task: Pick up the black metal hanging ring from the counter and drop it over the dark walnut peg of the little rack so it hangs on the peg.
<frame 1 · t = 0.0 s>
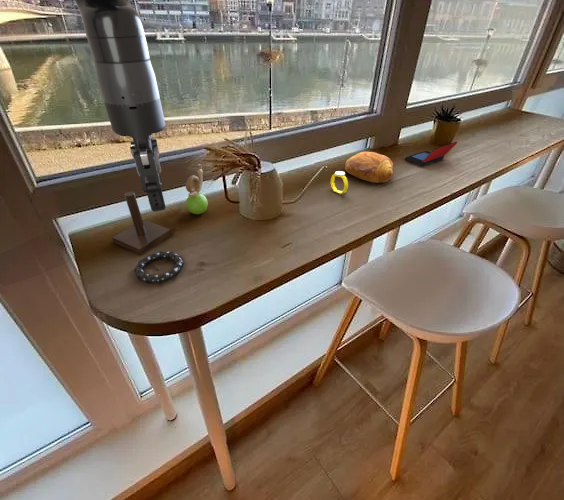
hand: (157, 198, 56), 16 cm above the table, tool pointing down, fingers open, 8 cm apart
hang ring: (159, 266, 66), point 1 cm above the table
gold gemstone ring: (338, 192, 94), on the table
handheld console: (427, 162, 114), on the table
bread loaf: (369, 175, 105), on the table
rack: (143, 238, 75), on the table
snail figurine: (200, 212, 85), on the table
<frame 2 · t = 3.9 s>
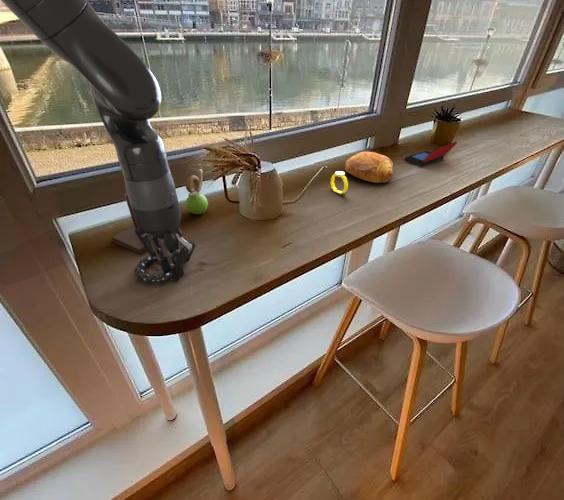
hand: (174, 275, 64), 0 cm above the table, tool pointing down, fingers closed on hang ring, 1 cm apart
hang ring: (159, 266, 66), point 1 cm above the table, touching gripper
everything else where it was.
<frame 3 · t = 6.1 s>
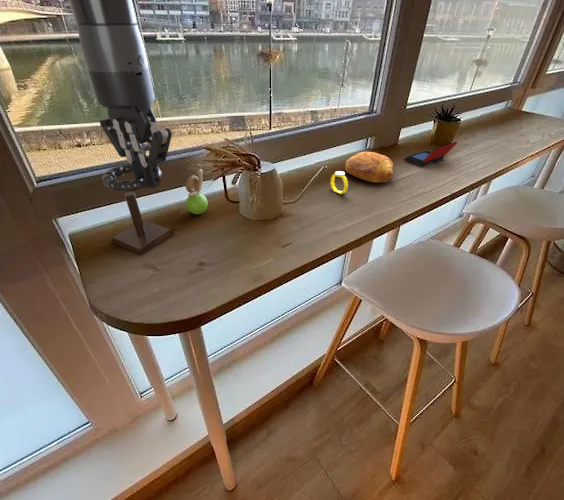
hand: (149, 184, 54), 19 cm above the table, tool pointing down, fingers closed on hang ring
hang ring: (132, 176, 55), point 20 cm above the table, touching gripper
everything else where it was.
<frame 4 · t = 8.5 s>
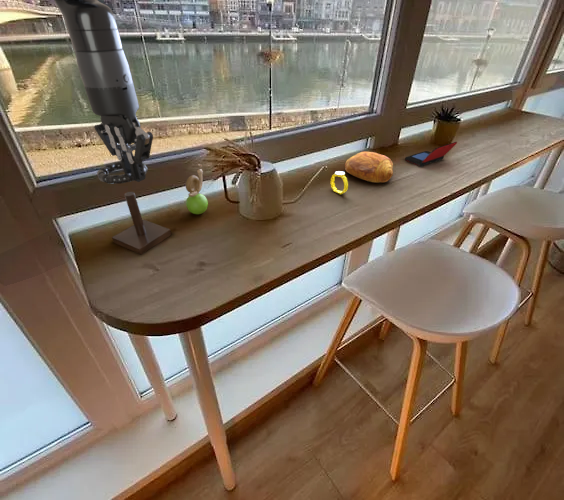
hand: (136, 178, 64), 16 cm above the table, tool pointing down, fingers closed on hang ring
hang ring: (122, 171, 65), point 16 cm above the table, touching gripper
everything else where it was.
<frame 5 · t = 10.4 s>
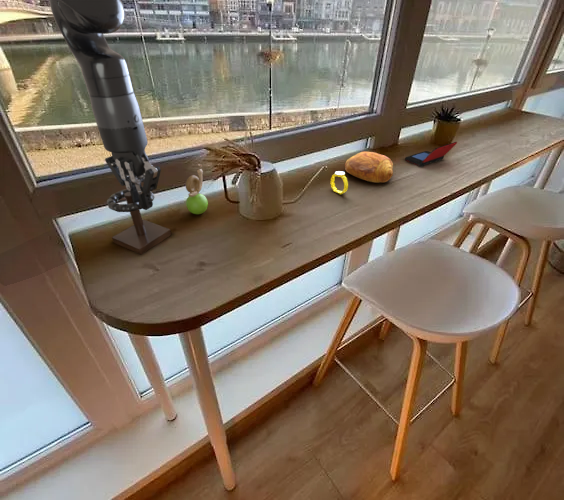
hand: (144, 206, 68), 10 cm above the table, tool pointing down, fingers closed on hang ring
hang ring: (131, 199, 69), point 10 cm above the table, touching gripper
everything else where it was.
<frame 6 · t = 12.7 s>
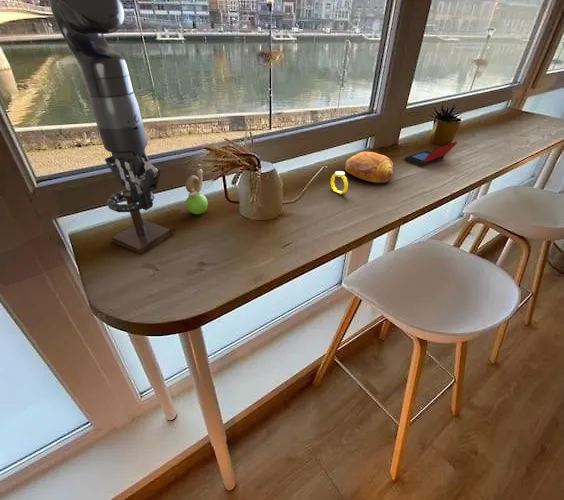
hand: (144, 206, 68), 9 cm above the table, tool pointing down, fingers closed on hang ring
hang ring: (131, 199, 69), point 10 cm above the table, touching gripper
everything else where it was.
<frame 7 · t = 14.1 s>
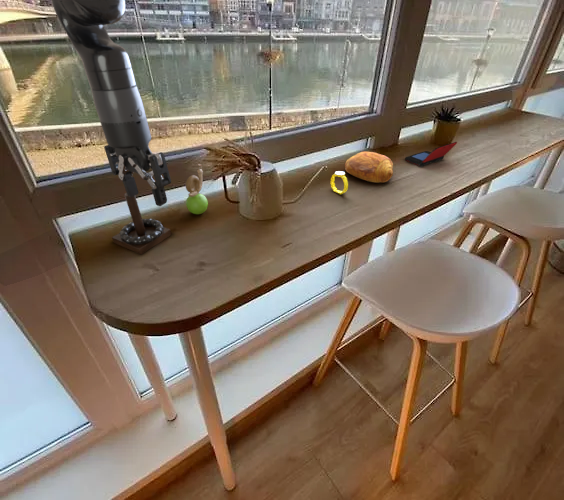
hand: (147, 199, 66), 12 cm above the table, tool pointing down, fingers open, 8 cm apart
hang ring: (142, 231, 73), point 2 cm above the table, touching rack
everything else where it was.
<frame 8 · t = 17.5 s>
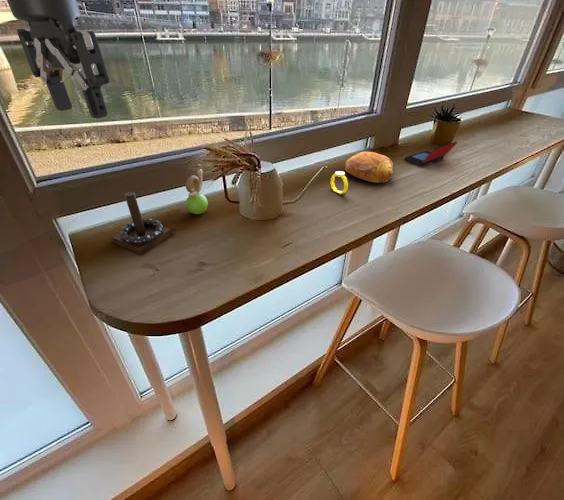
hand: (82, 113, 49), 30 cm above the table, tool pointing down, fingers open, 8 cm apart
nothing on the table moved.
at the end: hang ring 0.6 cm from the rack (horizontally); hang ring point 2.3 cm above the table; the gripper is holding nothing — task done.
